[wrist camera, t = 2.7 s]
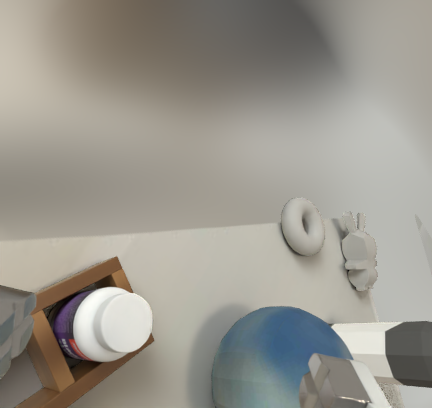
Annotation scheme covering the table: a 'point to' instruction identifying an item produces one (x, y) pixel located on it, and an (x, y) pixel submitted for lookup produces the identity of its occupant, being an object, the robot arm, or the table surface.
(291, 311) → the decorative ball
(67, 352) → the pill bottle
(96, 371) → the rack
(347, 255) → the bunny figurine
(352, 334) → the wine bottle
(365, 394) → the robot arm
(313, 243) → the donut
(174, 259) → the table surface
